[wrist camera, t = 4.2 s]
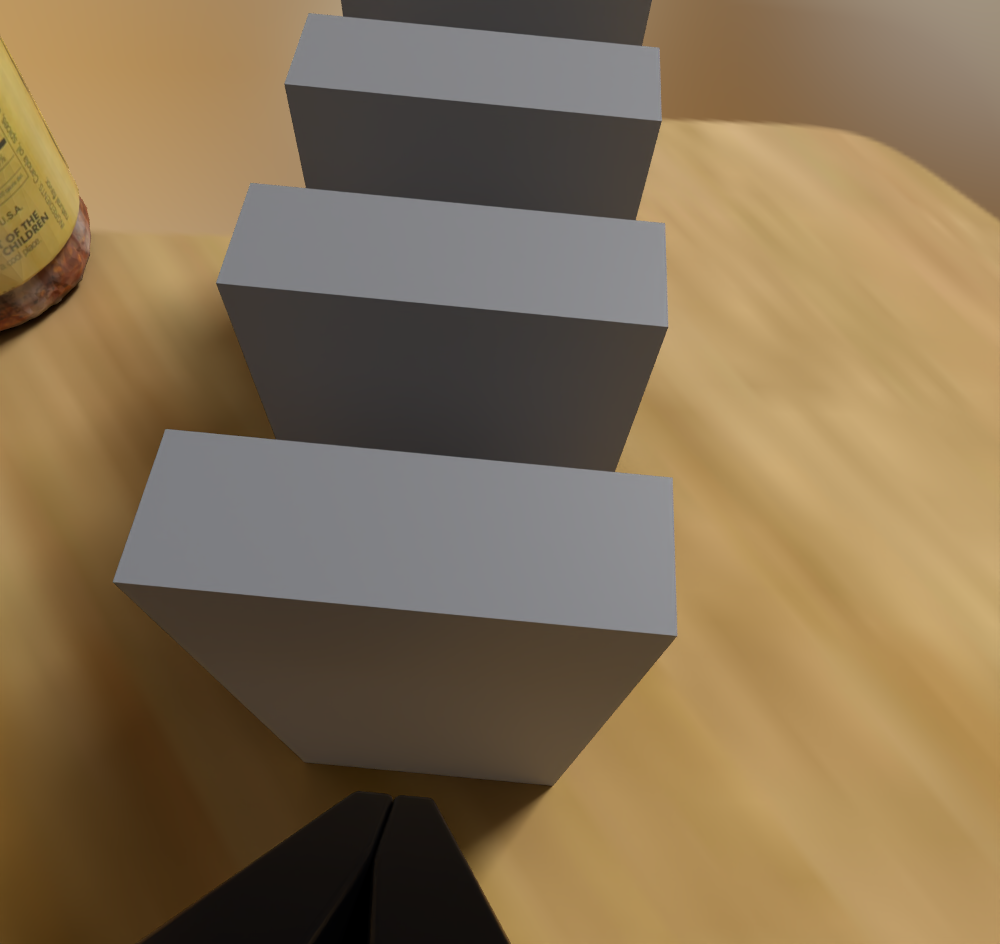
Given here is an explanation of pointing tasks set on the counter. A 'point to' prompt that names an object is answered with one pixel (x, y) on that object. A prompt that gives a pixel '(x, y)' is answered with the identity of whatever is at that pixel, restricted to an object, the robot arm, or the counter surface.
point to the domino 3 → (446, 324)
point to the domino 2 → (474, 116)
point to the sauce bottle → (35, 208)
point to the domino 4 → (407, 597)
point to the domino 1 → (518, 16)
